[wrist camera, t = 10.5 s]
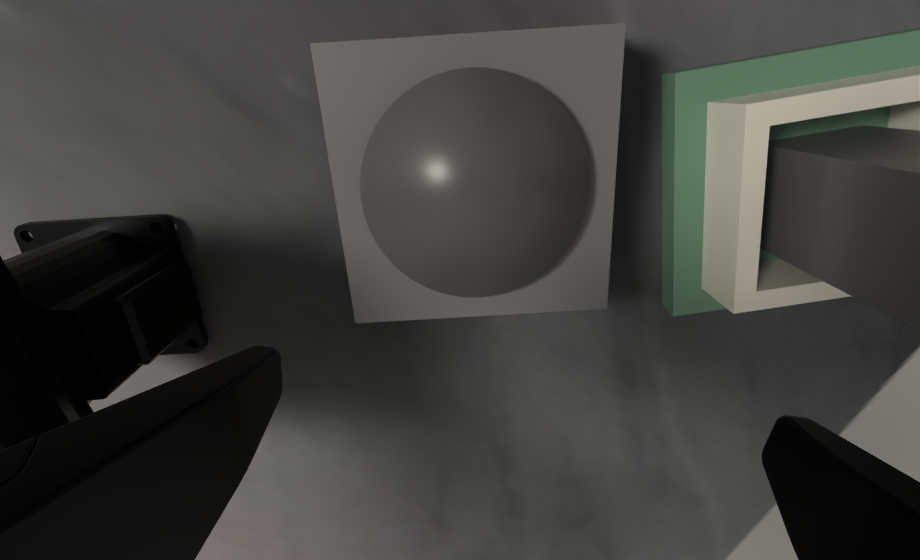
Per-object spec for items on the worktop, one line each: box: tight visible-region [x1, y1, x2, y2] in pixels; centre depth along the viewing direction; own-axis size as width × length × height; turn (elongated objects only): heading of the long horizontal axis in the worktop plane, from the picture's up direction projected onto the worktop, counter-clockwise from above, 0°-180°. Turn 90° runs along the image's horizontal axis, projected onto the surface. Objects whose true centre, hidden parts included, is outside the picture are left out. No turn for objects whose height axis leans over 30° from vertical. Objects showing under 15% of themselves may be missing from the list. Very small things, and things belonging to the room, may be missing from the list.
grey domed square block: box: [310, 23, 626, 323], centre depth 18 cm, size 10×10×3 cm
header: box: [662, 28, 920, 317], centre depth 18 cm, size 10×10×4 cm
